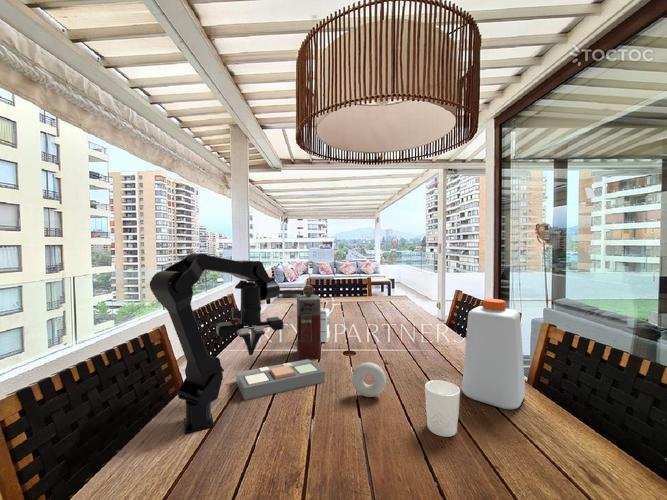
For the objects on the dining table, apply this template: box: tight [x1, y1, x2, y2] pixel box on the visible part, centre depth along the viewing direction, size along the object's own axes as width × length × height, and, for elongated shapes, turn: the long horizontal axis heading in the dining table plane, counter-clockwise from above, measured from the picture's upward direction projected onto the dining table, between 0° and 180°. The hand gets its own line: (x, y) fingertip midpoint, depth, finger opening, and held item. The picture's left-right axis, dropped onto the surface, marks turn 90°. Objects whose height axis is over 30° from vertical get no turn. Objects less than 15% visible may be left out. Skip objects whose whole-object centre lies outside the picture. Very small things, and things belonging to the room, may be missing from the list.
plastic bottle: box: [461, 298, 526, 410], centre depth 90 cm, size 15×15×28 cm
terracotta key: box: [270, 365, 294, 380], centre depth 97 cm, size 6×6×2 cm
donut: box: [351, 361, 387, 398], centre depth 90 cm, size 10×4×10 cm, turn 82°
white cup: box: [424, 379, 461, 438], centre depth 74 cm, size 8×8×10 cm
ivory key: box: [245, 373, 269, 385], centre depth 94 cm, size 6×6×2 cm
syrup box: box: [321, 307, 331, 344], centre depth 141 cm, size 6×6×14 cm
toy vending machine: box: [296, 284, 322, 361], centre depth 122 cm, size 9×11×28 cm
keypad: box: [235, 359, 325, 401], centre depth 99 cm, size 13×25×4 cm, turn 117°
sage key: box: [294, 364, 318, 375], centre depth 101 cm, size 6×6×2 cm
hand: (250, 355), depth 92 cm, fingers closed
